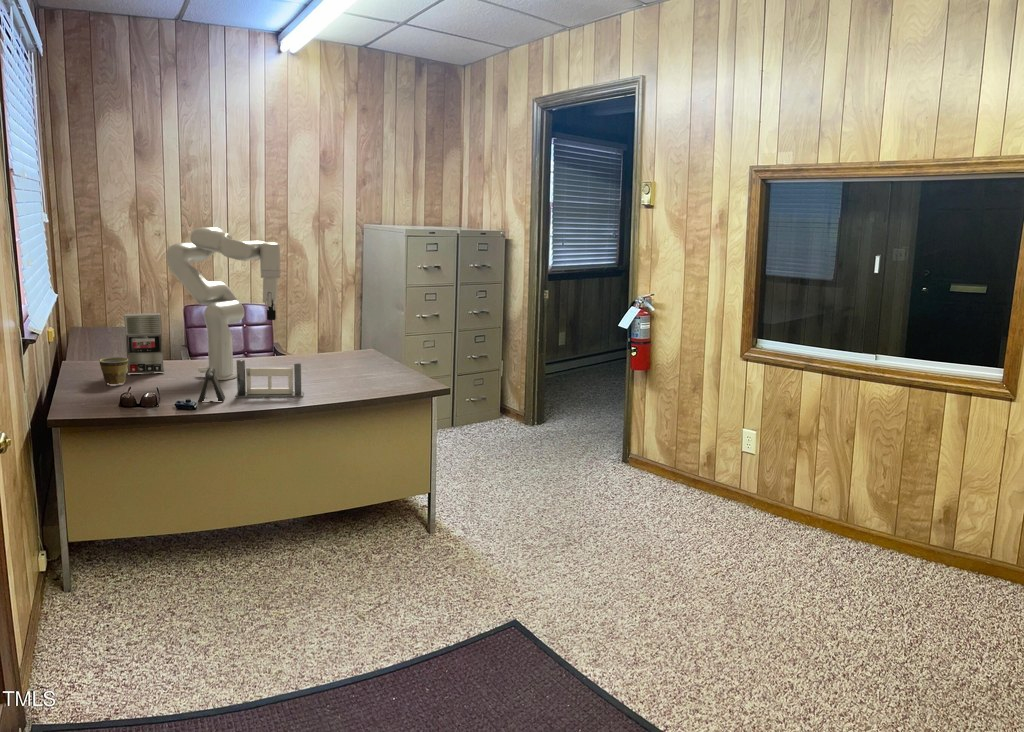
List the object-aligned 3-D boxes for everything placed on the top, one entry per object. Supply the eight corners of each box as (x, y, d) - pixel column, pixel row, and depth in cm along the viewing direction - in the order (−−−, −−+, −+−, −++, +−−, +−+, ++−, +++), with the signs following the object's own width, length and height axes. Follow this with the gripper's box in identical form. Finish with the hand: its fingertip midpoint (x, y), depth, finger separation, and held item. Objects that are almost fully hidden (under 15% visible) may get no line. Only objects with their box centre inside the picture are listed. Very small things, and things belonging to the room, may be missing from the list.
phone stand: (225, 398, 292) (224, 367, 289) (223, 402, 286) (222, 371, 284) (199, 398, 290) (198, 367, 287) (197, 402, 284) (196, 371, 281)
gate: (246, 393, 295) (246, 368, 293) (247, 392, 297) (246, 367, 294) (292, 393, 299) (292, 368, 296) (292, 392, 300) (292, 367, 298)
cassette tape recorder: (127, 375, 317) (123, 316, 312) (128, 372, 323) (124, 313, 317) (164, 374, 323) (161, 315, 318) (164, 370, 328) (161, 313, 323)
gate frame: (235, 398, 292) (234, 362, 289) (237, 394, 298) (236, 358, 295) (303, 397, 298) (302, 362, 295) (303, 393, 303) (303, 359, 300)
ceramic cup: (135, 384, 305) (133, 359, 303) (111, 389, 297) (110, 363, 295) (114, 379, 311) (112, 355, 309) (90, 383, 303) (88, 359, 301)
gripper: (262, 271, 311) (263, 316, 315) (258, 275, 296) (259, 322, 300) (281, 272, 312) (282, 316, 316) (278, 276, 298) (279, 323, 302)
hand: (271, 319), depth 308 cm, fingers closed
